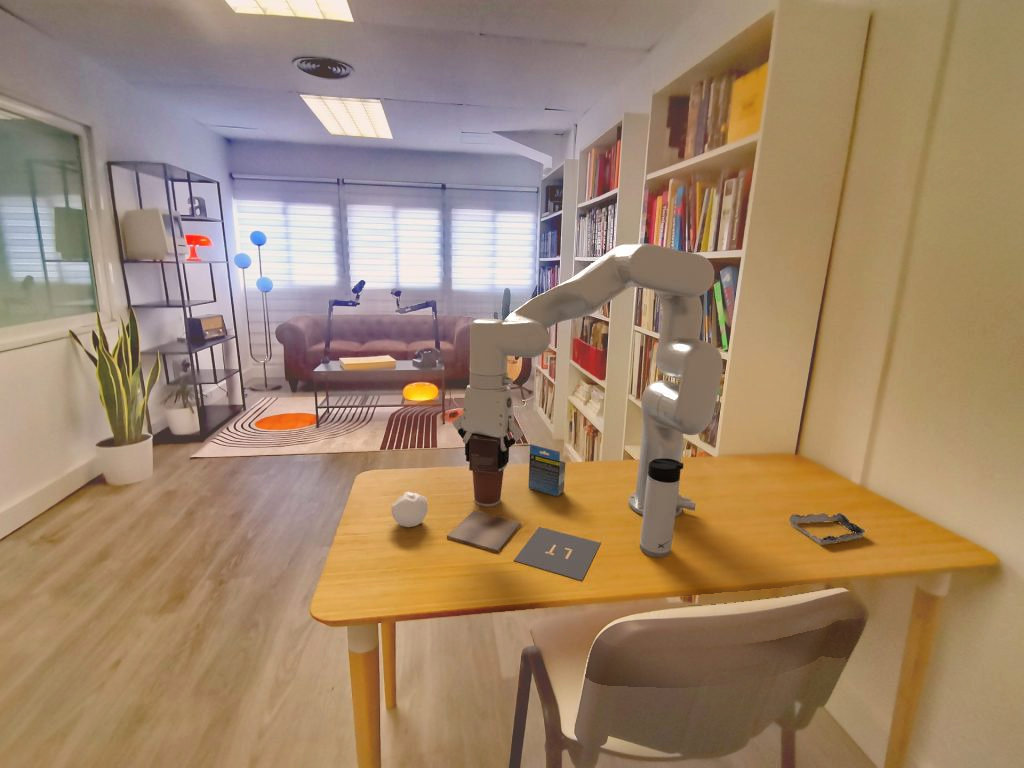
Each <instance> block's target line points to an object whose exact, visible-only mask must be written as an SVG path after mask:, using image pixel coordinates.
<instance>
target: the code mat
mask: <svg viewBox="0 0 1024 768" xmlns="http://www.w3.org/2000/svg"><path fill="white" fill-rule="evenodd" d="M600 545H601V542H599V541H596V540H591V539H589V538H588V539H587V538H584V537H580V536H576V535H572V534H568V533H565V532H561V531H556V530H553V529H550V528H545V527H541V526H538V528H537V529H536V530H535V531H534V532H533V534H532V535H531V537H529V539H528V540H527V542H526V543H525V545H524V546H523V547H522V549H521V550H520V551H519V552H518V554H517V555H516V557H515V558H514V559H513V561H514V562H517V563H520V564H524V565H527V566H530V567H534V568H536V569H541V570H544V571H547V572H551V573H554V574H556V575H561V576H564V577H568V578H571V579H574V580H577V581H580V582H582V581H583V580H584V578H585V576H586V575H587V574H586V573H587V572H588V570H589V568H590V565H591V564H592V562H593V560H594V558H595V556H596V553H597V551H598V549H599V547H600Z"/></svg>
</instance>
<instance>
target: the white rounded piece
mask: <svg viewBox="0 0 1024 768" xmlns="http://www.w3.org/2000/svg"><path fill="white" fill-rule="evenodd" d="M390 507H391V508H390V509H391V515H392V518H393V520H394V521H395V522H396V523H397V524H398V525H400V526H402V527H405V528H413V527H416V526H418V525H420V524H421V523H423V521H424V519H425V518H426V516H427V514H428V510H429V508H428V507H429V506H428V499H427V497H425V495H424V496H423V495H420V494H419V493H416V492H411V491H405V492H404V493H403V495H402V496H400V497H398V498H397V499H395V501H394V503H393V504H392V505H391V506H390Z"/></svg>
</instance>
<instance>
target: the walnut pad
mask: <svg viewBox="0 0 1024 768" xmlns="http://www.w3.org/2000/svg"><path fill="white" fill-rule="evenodd" d="M521 525H522V522H520V521H516V520H512V519H508V518H504V517H500V516H497V515H493V514H490V513H485V512H481V511H477V510H473V511H471V512H470V514H468V515H467V516H466V517H465V518H464V519H463V520H462V521H461V522H460V523H459V524H458V525H456V526H455V528H453V529H452V530H451V531H450V532H449V533H447V535H446V538H447V539H449V540H453V541H456V542H458V543H459V542H460V543H462V544H466V545H470V546H473V547H477V548H480V549H484V550H487V551H489V552H490V551H491V552H494V553H499V552H500V551H501V550H502V548H503V547H505V544H506V543H507V542H508V541H509V540H510V538H511V537H513V535H514V534H515V533H516V532H517V530H518V529H519V528H520V527H521Z"/></svg>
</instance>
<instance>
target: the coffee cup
mask: <svg viewBox="0 0 1024 768" xmlns="http://www.w3.org/2000/svg"><path fill="white" fill-rule="evenodd" d="M507 465H508V463H507V464H506V465H505V466H504V467H503V468H502V469H499V471H498V472H497V473H487V472H478V471H472V482H473V494H474V495H473V496H474V497H473V498H474V503H475V504H476V505H478V506H481V507H494V506H497V505H499V504H500V503H501V498H502V497H501V496H502V488H503V480H504V470H505V469H506V467H507Z"/></svg>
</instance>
